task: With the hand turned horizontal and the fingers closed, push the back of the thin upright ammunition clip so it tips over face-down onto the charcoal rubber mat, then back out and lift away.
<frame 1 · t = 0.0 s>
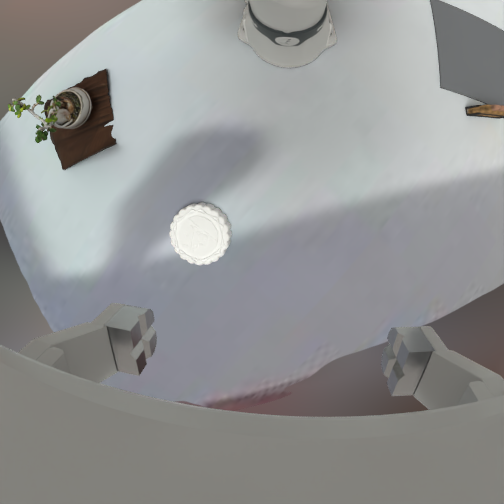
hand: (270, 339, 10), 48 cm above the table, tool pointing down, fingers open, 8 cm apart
ammunition clip: (482, 112, 45), on the table
slate mat: (478, 55, 40), on the table
mooncake: (202, 231, 60), on the table
potted plant: (83, 123, 55), on the table
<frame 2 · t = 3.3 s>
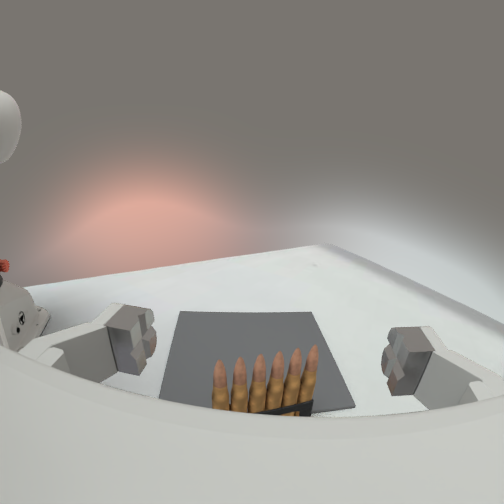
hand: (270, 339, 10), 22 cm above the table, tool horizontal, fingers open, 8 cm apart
ammunition clip: (260, 434, 29), on the table
slate mat: (251, 355, 42), on the table
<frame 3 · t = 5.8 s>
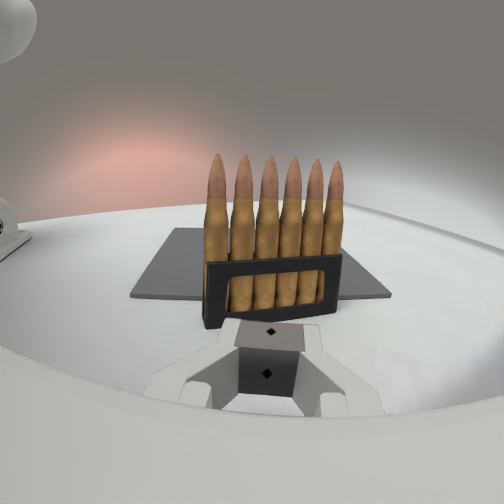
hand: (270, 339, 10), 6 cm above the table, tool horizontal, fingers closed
ammunition clip: (271, 318, 23), on the table
slate mat: (256, 255, 37), on the table
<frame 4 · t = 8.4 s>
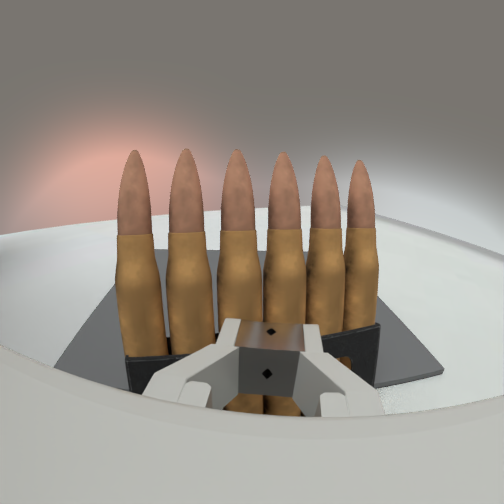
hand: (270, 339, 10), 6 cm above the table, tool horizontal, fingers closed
ammunition clip: (261, 437, 12), on the table
slate mat: (244, 298, 26), on the table
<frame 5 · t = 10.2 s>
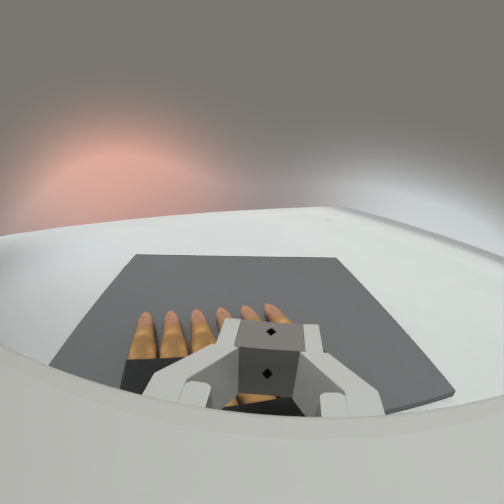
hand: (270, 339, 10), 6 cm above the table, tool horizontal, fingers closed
ammunition clip: (251, 442, 10), point 1 cm above the table, touching slate mat
slate mat: (240, 310, 24), on the table
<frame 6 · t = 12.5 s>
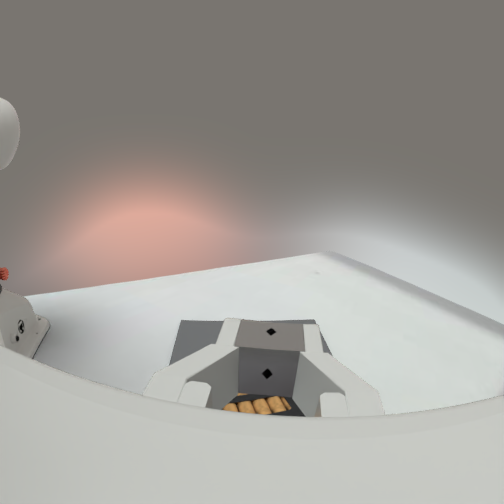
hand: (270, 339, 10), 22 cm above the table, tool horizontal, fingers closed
ammunition clip: (262, 429, 28), point 2 cm above the table, touching slate mat
slate mat: (253, 364, 41), on the table
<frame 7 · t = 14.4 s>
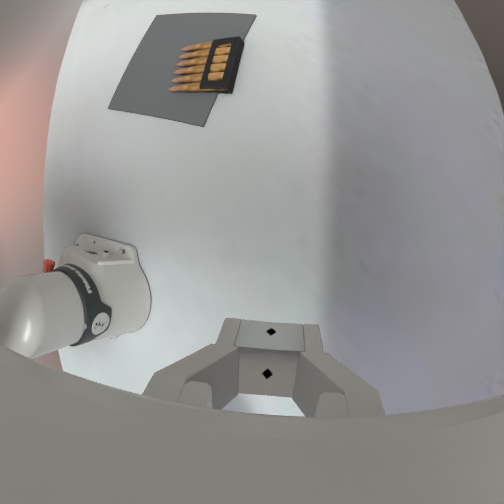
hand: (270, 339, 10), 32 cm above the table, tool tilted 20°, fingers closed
ammunition clip: (237, 63, 41), point 2 cm above the table, touching slate mat
slate mat: (175, 60, 46), on the table
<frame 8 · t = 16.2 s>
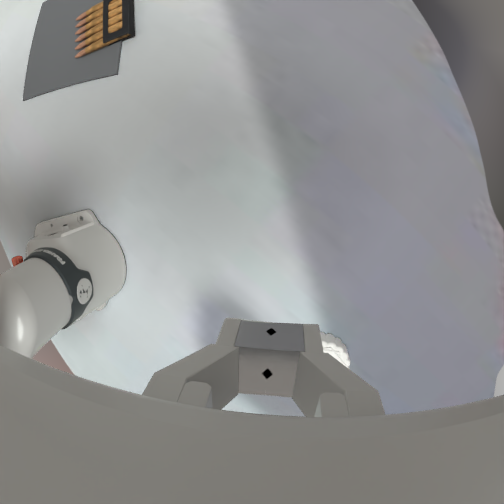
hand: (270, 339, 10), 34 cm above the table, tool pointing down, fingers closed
ammunition clip: (132, 9, 33), point 1 cm above the table, touching slate mat
slate mat: (73, 30, 35), on the table
mooncake: (314, 358, 50), on the table
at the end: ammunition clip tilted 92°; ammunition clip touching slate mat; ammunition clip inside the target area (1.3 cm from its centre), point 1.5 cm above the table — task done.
